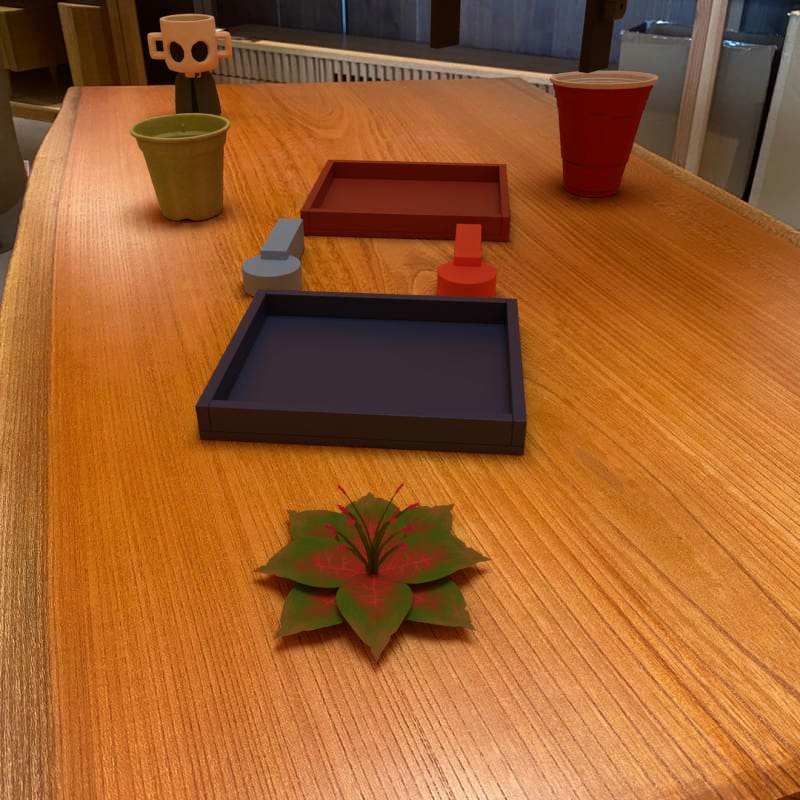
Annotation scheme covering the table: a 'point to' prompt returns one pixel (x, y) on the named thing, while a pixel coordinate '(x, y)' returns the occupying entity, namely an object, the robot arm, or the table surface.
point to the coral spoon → (467, 267)
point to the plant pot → (185, 162)
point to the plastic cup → (598, 126)
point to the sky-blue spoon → (277, 260)
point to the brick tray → (408, 200)
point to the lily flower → (372, 569)
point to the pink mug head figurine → (192, 59)
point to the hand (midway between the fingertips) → (514, 58)
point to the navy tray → (371, 373)
